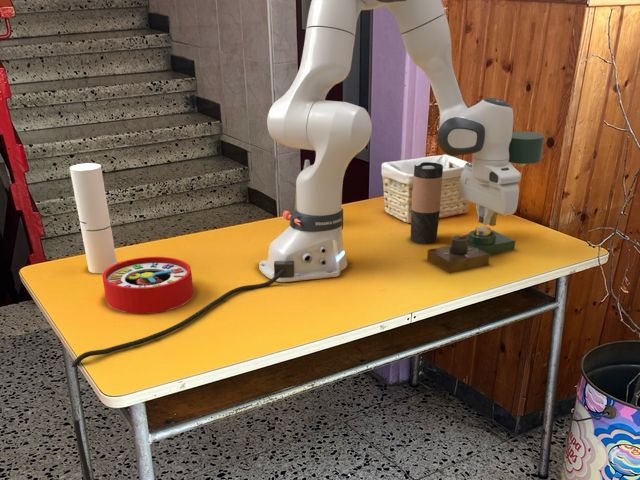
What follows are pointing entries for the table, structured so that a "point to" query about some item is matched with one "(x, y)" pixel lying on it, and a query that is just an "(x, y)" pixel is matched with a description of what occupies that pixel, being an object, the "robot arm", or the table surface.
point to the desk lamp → (523, 152)
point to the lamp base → (491, 242)
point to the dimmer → (457, 259)
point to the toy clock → (148, 284)
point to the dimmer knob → (459, 244)
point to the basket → (401, 186)
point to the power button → (482, 231)
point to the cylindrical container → (93, 216)
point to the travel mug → (426, 202)
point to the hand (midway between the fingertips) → (483, 223)
